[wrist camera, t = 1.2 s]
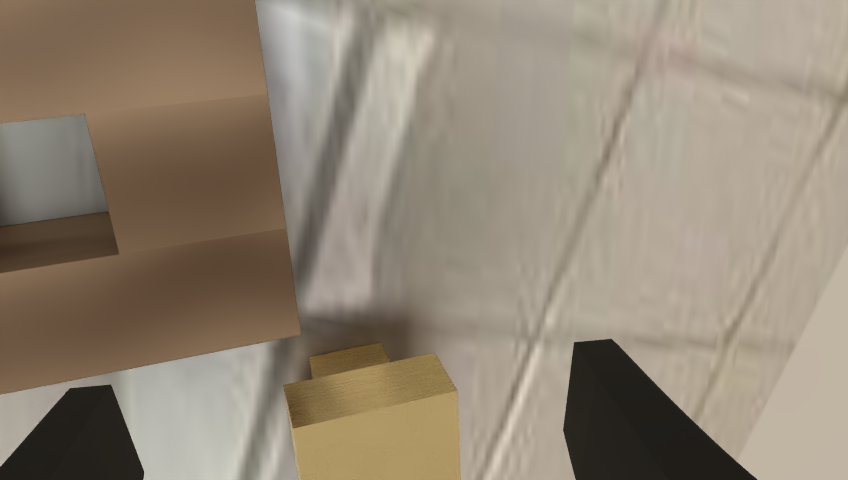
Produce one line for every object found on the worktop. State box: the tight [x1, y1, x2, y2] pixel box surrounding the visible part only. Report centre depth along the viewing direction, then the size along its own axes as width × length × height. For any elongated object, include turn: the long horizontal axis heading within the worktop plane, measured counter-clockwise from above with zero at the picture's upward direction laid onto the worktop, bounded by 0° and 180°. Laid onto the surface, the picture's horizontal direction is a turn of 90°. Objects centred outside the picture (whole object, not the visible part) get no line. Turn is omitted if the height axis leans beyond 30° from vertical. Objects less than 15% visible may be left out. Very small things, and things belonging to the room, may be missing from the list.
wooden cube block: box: [283, 342, 461, 480], centre depth 27 cm, size 6×6×6 cm
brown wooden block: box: [0, 0, 301, 395], centre depth 21 cm, size 12×14×4 cm
